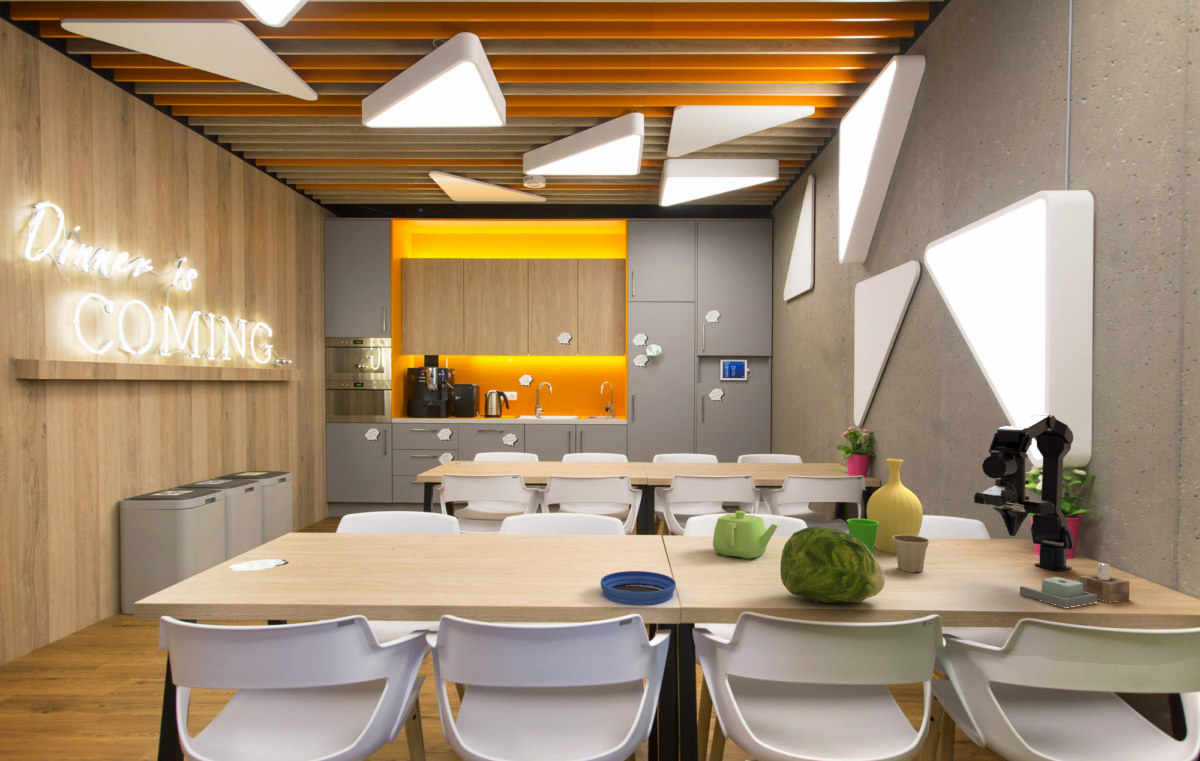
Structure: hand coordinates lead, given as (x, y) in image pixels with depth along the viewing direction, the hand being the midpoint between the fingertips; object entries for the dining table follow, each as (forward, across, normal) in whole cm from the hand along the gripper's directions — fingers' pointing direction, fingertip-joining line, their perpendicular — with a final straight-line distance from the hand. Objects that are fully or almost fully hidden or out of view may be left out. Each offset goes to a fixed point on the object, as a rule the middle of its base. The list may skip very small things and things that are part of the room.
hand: (1012, 535), depth 176 cm
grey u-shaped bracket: (+12, +14, -3) cm, 19 cm away
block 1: (+12, +15, -2) cm, 19 cm away
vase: (+12, -38, -2) cm, 40 cm away
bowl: (+13, -24, -96) cm, 100 cm away
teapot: (+12, -47, -50) cm, 70 cm away
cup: (+12, -32, -20) cm, 40 cm away
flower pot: (+12, -18, -16) cm, 27 cm away
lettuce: (+12, -4, -55) cm, 57 cm away
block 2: (+12, +17, +9) cm, 23 cm away
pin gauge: (+12, +17, +9) cm, 23 cm away
